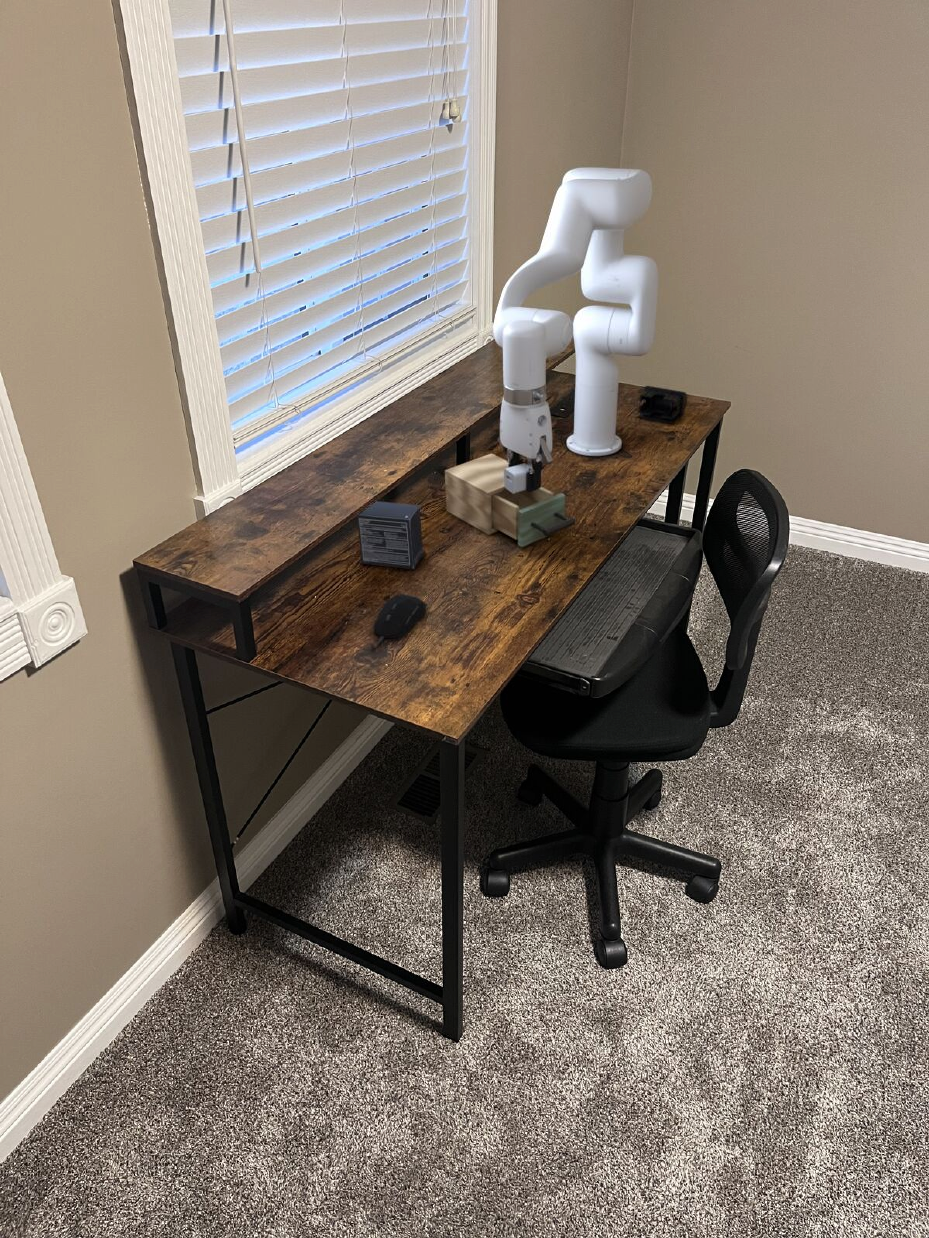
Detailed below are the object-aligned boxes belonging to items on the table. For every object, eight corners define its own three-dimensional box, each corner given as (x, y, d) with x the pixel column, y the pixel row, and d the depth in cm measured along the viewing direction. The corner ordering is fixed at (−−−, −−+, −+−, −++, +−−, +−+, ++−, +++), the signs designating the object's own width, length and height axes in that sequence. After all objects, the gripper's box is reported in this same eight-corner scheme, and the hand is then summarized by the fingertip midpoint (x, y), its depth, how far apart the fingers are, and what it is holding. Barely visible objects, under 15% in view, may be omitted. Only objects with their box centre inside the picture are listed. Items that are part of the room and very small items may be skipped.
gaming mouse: (357, 645, 151) (354, 624, 149) (400, 599, 162) (398, 580, 160) (391, 653, 149) (389, 633, 146) (432, 606, 160) (431, 587, 157)
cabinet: (535, 515, 186) (535, 474, 181) (488, 535, 180) (487, 492, 175) (492, 493, 195) (491, 453, 190) (446, 511, 189) (444, 470, 184)
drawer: (582, 538, 176) (583, 503, 172) (539, 557, 171) (539, 522, 167) (521, 507, 188) (521, 474, 184) (480, 523, 182) (479, 490, 178)
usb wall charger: (503, 486, 176) (503, 467, 174) (534, 477, 178) (534, 458, 176) (515, 494, 173) (514, 475, 171) (545, 485, 176) (546, 466, 173)
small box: (425, 553, 175) (421, 503, 169) (414, 570, 170) (410, 520, 164) (372, 547, 178) (367, 498, 172) (360, 564, 172) (354, 514, 167)
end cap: (685, 415, 227) (688, 388, 223) (674, 425, 222) (677, 398, 219) (648, 408, 232) (650, 382, 228) (636, 417, 227) (638, 391, 223)
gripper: (572, 400, 162) (569, 494, 172) (509, 376, 173) (510, 465, 183) (540, 411, 158) (539, 506, 168) (478, 386, 169) (481, 477, 179)
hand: (524, 484), depth 176 cm, fingers closed on usb wall charger, 4 cm apart
